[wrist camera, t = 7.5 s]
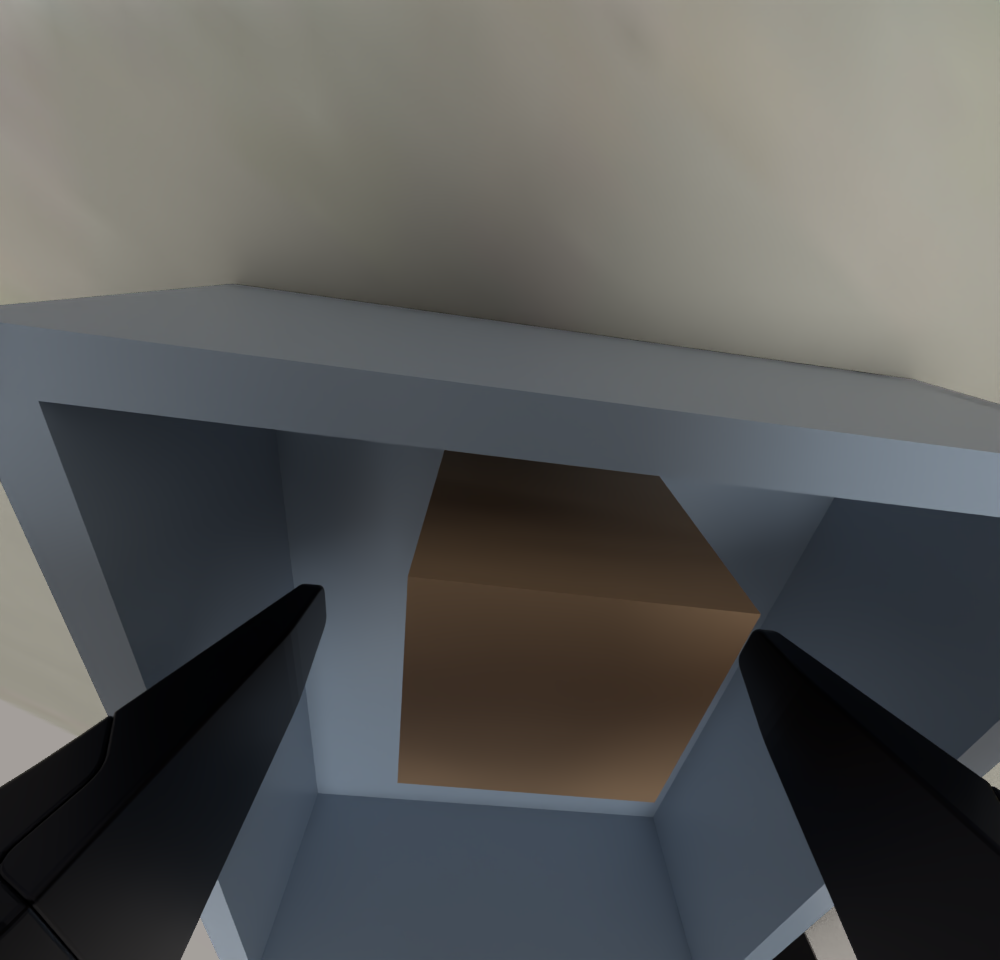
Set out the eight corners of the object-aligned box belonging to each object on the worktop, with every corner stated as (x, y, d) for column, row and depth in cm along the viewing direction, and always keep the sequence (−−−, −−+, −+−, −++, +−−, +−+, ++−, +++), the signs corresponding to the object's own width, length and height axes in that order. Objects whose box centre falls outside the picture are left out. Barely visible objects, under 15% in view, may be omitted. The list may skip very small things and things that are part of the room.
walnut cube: (601, 613, 13) (654, 802, 8) (433, 596, 12) (397, 783, 8) (650, 464, 10) (761, 614, 6) (448, 438, 10) (407, 576, 6)
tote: (661, 814, 19) (717, 1007, 14) (304, 788, 18) (231, 985, 13) (915, 379, 10) (1307, 493, 5) (233, 283, 9) (-77, 311, 4)
